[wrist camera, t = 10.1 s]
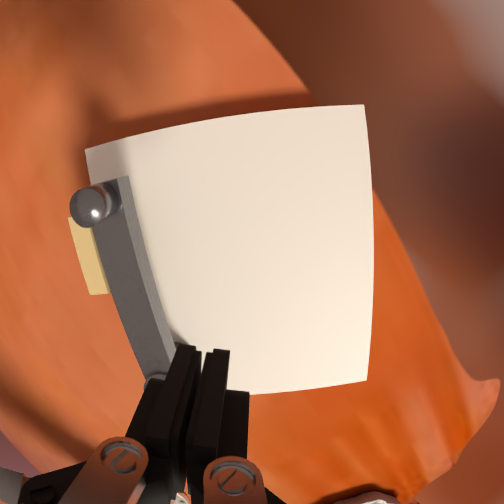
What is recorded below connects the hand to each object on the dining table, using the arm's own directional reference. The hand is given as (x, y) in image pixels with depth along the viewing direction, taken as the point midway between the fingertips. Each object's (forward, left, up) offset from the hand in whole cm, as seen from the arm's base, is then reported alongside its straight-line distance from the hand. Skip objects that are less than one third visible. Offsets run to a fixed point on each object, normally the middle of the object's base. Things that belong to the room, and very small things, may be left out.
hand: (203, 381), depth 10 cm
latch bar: (-6, -2, -12) cm, 14 cm away
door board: (0, -2, -14) cm, 14 cm away
